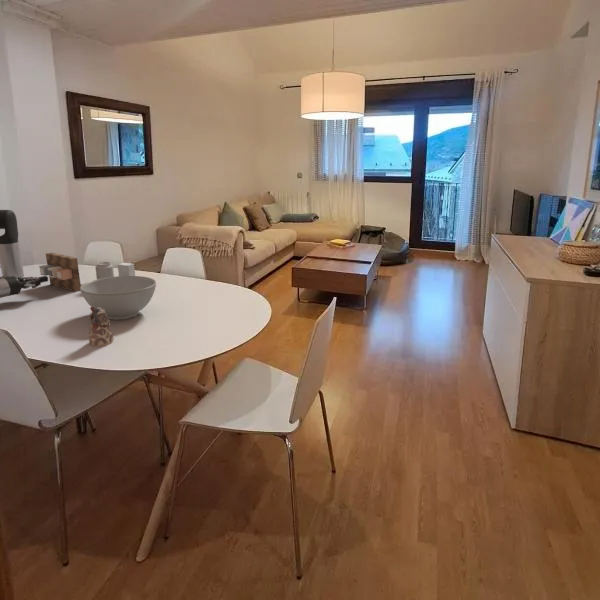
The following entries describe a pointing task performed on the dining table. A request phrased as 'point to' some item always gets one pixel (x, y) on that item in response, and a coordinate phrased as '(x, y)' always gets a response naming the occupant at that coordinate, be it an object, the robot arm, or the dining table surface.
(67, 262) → the key panel
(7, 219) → the robot arm
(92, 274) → the dining table surface
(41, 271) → the key slate
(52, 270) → the key ivory
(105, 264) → the can
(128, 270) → the skincare box
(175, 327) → the dining table surface
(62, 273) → the key terracotta
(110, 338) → the figurine
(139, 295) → the decorative bowl
